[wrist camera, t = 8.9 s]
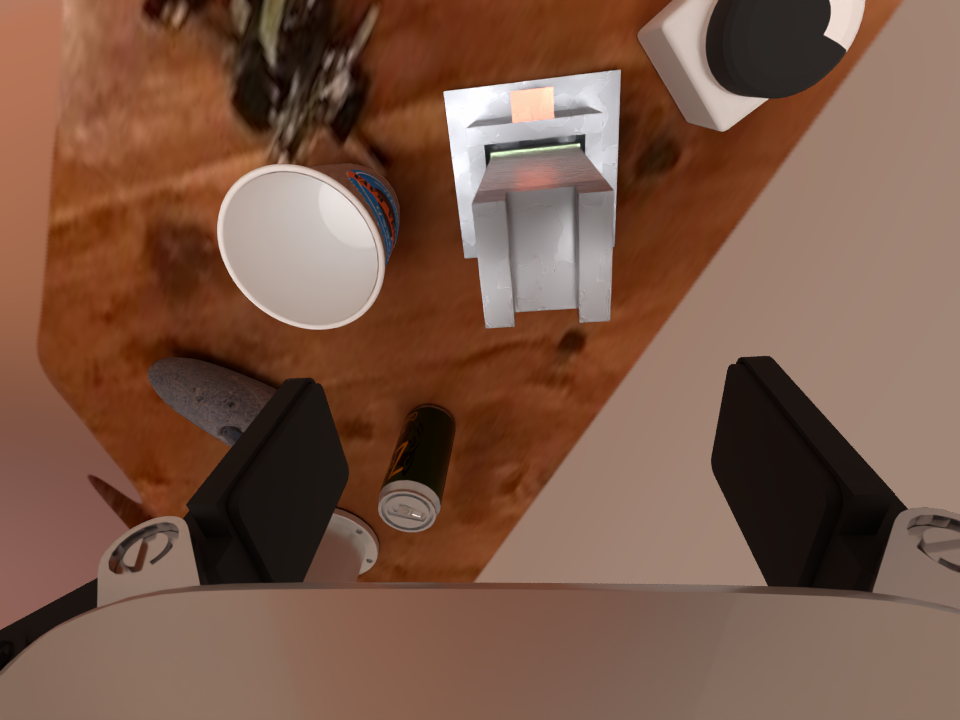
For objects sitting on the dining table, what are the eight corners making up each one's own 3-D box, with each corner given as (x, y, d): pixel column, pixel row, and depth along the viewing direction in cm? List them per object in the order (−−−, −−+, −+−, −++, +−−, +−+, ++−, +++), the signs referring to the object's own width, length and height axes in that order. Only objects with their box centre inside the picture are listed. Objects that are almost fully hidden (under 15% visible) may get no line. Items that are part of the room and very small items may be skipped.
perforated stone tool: (167, 366, 49) (117, 405, 43) (178, 328, 47) (128, 365, 41) (301, 432, 52) (273, 477, 46) (319, 399, 50) (291, 443, 44)
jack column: (576, 223, 32) (612, 322, 19) (499, 230, 33) (483, 330, 20) (576, 139, 29) (617, 187, 16) (492, 148, 30) (468, 201, 17)
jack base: (611, 240, 39) (630, 275, 32) (466, 252, 40) (454, 288, 33) (617, 69, 33) (641, 67, 26) (446, 91, 34) (427, 94, 27)
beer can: (463, 412, 49) (447, 501, 39) (447, 449, 52) (427, 541, 41) (414, 395, 48) (384, 481, 38) (400, 433, 51) (368, 522, 41)
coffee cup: (437, 252, 40) (408, 311, 30) (329, 280, 43) (268, 344, 32) (394, 123, 36) (341, 140, 25) (275, 161, 38) (182, 192, 27)
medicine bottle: (687, 124, 34) (758, 144, 24) (633, 34, 32) (686, 13, 21) (786, 47, 31) (914, 31, 21) (736, -58, 29) (853, -134, 19)
